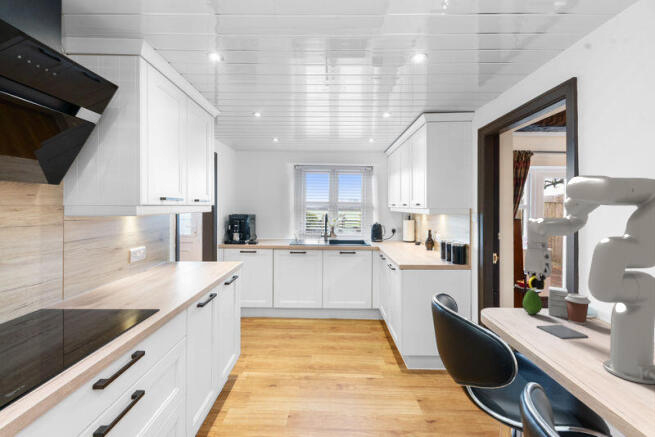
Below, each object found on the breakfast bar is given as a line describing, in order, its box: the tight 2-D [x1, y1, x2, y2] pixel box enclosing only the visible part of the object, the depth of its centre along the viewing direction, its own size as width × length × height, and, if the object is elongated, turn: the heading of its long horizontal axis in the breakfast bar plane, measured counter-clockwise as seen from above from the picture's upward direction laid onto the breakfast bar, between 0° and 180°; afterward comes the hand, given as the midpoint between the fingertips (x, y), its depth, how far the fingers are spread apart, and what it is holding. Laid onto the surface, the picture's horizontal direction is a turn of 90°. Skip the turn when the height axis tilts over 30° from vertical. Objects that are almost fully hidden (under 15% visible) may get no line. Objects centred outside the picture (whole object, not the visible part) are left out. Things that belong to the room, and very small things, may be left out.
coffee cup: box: [565, 293, 592, 325], centre depth 141 cm, size 9×9×12 cm
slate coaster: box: [536, 324, 589, 340], centre depth 128 cm, size 12×12×1 cm
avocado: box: [522, 289, 543, 315], centre depth 151 cm, size 8×8×12 cm
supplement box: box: [548, 286, 569, 319], centre depth 150 cm, size 7×7×13 cm
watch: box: [528, 276, 546, 291], centre depth 135 cm, size 6×3×6 cm, turn 82°
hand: (536, 288), depth 135 cm, fingers closed on watch, 2 cm apart
